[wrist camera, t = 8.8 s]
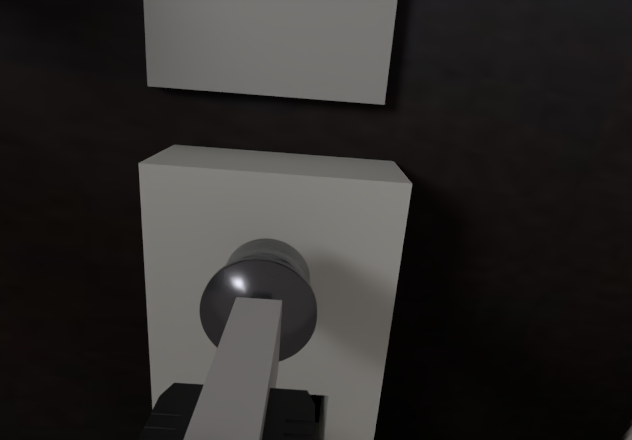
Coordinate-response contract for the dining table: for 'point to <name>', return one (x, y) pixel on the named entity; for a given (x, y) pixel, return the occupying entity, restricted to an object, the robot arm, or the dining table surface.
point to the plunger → (263, 291)
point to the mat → (272, 47)
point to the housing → (302, 234)
